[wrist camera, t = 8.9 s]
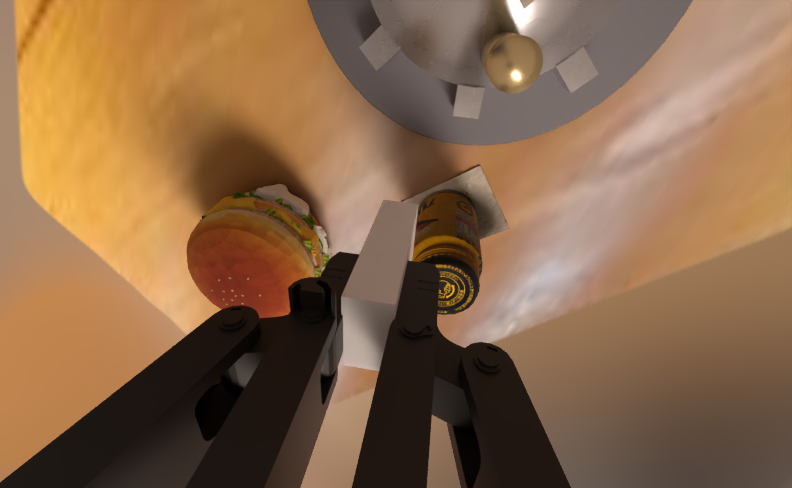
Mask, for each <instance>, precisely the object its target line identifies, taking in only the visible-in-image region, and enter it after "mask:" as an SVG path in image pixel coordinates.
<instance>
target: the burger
mask: <svg viewBox="0 0 792 488" xmlns="http://www.w3.org/2000/svg"><path fill="white" fill-rule="evenodd" d="M331 257H332V254H331V248H328V245H327V240H326V232H325V230H324V229H323V227H321V226H320V224H319V222H318V221H317V219H316V218H315V217H314V216H313V215H312V214H311V213H310V210H309V205H308V204H307V203H306V202H304V201H303V200H302V199H300V198H298V197H296V196H294V195H292V194H291V193H290V192H288V189H287V187H286V186H285V185H283V184H276V185H272V186H264V187H262V188H257V190H256V191H250V192H238V193H235V194H233V195H232V196H227V197H224V198H222V199H221V200H220V201H219V202H218V203H217V204H216V205H215V206H214V207H212V208H211V209H210V210H208V211H207V212H206V213H205V216H204V215H203V216H202V219H201V220H200V222H199V223H198V224H197V226H196V227H195V229H194V230H193V232H192V233H191V235H190V238H189V241H188V244H187V262H188V269H189V271H190V274H191V276H192V279H193V280H194V282H195V283H196V285H197V287H198V288H199V290H200V291H201V292H202V293H203V294H204V295H205V296H206V297H207V298H208V299H209V300H210V301H211V302H212V303H213V304H214V305H216V306H217V307H219V308H220V309H225V308H228V307H231V306H240V305H243V306H248V307H251V308H253V309H255V310H256V311H257V313H258V315H259V318H268V317H278V316H284V315H287V314H289V312H290V303H289V294H288V287H289V286H290V285H291V284H292V283H294V282H296V281H298V280H300V279H303V278H308V277H320V276H321V273H322V271H323V270H324V269H325V266H326V264H327V263H328V261H329V259H330V258H331Z"/></svg>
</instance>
